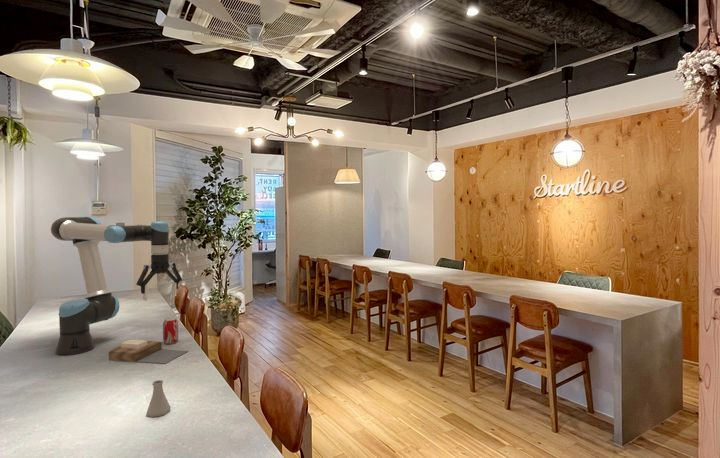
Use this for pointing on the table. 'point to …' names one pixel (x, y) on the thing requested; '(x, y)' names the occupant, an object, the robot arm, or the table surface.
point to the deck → (134, 352)
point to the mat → (162, 356)
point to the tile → (133, 344)
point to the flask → (158, 401)
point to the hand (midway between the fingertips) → (160, 298)
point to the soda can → (170, 330)
